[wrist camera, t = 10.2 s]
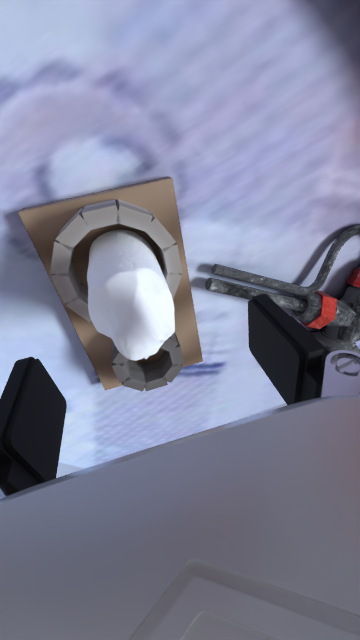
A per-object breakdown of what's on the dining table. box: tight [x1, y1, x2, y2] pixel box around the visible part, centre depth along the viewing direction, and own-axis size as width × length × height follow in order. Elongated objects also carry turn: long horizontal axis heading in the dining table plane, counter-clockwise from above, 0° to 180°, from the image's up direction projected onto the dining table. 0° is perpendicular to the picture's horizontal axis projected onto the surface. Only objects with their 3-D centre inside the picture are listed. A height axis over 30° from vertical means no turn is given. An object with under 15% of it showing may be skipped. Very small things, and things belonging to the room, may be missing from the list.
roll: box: [87, 230, 175, 361], centre depth 19 cm, size 6×12×6 cm
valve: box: [206, 224, 360, 354], centre depth 30 cm, size 6×26×15 cm
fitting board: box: [18, 177, 203, 391], centre depth 26 cm, size 20×12×4 cm, turn 10°
